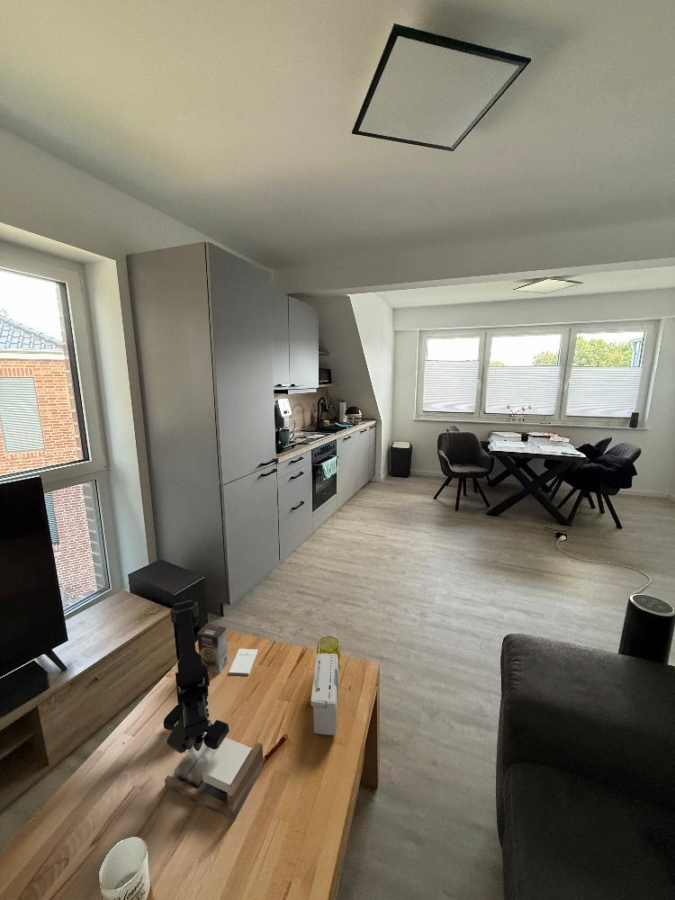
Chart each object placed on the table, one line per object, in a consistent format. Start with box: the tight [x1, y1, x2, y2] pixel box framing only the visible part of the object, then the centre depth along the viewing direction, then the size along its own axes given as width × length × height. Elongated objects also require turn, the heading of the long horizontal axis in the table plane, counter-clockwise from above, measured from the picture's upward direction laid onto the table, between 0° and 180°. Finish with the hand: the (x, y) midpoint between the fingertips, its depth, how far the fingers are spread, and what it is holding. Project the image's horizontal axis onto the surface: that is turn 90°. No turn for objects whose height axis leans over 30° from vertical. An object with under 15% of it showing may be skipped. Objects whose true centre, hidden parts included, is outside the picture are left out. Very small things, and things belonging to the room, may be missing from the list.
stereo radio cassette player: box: [310, 639, 340, 736], centre depth 121 cm, size 21×8×20 cm, turn 178°
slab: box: [202, 737, 253, 793], centre depth 99 cm, size 9×10×3 cm
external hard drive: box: [227, 648, 259, 676], centre depth 143 cm, size 2×8×12 cm
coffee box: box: [196, 623, 229, 674], centre depth 140 cm, size 9×6×16 cm
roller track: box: [164, 741, 264, 822], centre depth 101 cm, size 23×14×8 cm, turn 70°
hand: (198, 749), depth 103 cm, fingers closed
